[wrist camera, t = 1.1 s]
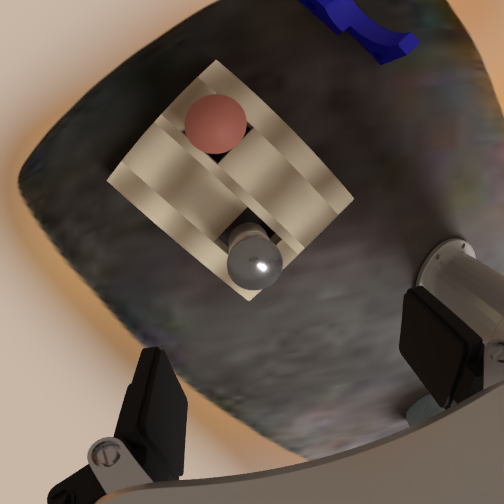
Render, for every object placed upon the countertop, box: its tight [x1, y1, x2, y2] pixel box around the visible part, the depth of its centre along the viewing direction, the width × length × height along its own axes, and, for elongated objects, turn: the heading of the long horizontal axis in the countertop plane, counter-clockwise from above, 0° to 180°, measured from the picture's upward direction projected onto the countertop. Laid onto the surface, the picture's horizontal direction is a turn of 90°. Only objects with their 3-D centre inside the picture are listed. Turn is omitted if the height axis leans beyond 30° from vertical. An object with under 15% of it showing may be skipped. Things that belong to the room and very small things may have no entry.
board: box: [107, 60, 354, 301], centre depth 30 cm, size 20×16×3 cm
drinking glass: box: [406, 394, 445, 427], centre depth 46 cm, size 10×10×12 cm
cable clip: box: [300, 0, 420, 65], centre depth 23 cm, size 12×4×6 cm, turn 48°
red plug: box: [184, 94, 247, 154], centre depth 24 cm, size 5×5×6 cm
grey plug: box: [227, 222, 283, 290], centre depth 28 cm, size 5×5×6 cm
